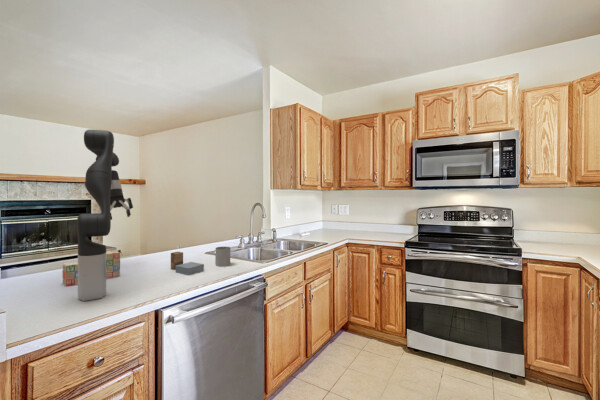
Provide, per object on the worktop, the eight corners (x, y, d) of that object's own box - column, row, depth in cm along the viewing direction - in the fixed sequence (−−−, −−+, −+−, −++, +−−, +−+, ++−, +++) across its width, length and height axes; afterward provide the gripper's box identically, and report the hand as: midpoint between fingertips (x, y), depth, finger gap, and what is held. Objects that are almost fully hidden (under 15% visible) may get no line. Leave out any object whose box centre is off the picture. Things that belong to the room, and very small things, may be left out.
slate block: (203, 271, 156) (203, 264, 155) (188, 276, 147) (188, 268, 147) (191, 269, 161) (191, 261, 160) (175, 273, 152) (175, 265, 152)
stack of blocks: (65, 286, 127) (65, 259, 127) (62, 283, 131) (62, 256, 131) (120, 276, 144) (120, 251, 143) (115, 274, 148) (115, 250, 147)
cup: (233, 264, 171) (233, 247, 170) (222, 267, 164) (222, 249, 163) (223, 262, 175) (223, 246, 175) (212, 265, 168) (212, 248, 168)
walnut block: (183, 268, 160) (183, 252, 160) (176, 270, 156) (176, 253, 156) (177, 267, 162) (177, 251, 162) (170, 269, 158) (170, 252, 158)
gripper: (100, 189, 151) (106, 219, 151) (130, 186, 162) (136, 214, 161) (97, 192, 156) (103, 221, 156) (126, 189, 167) (132, 216, 166)
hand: (120, 218), depth 158 cm, fingers open, 8 cm apart
